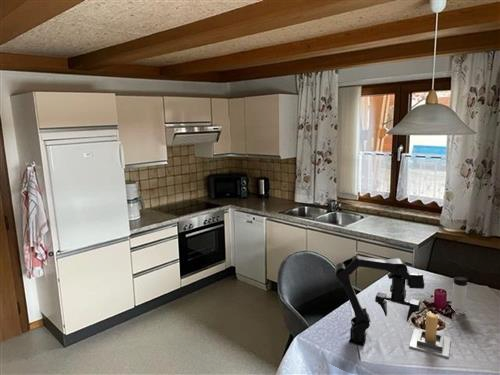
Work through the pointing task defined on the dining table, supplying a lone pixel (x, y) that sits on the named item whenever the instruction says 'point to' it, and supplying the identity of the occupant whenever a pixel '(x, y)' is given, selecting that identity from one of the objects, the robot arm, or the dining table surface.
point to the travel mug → (459, 295)
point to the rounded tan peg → (431, 328)
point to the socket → (437, 349)
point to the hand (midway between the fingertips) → (396, 318)
